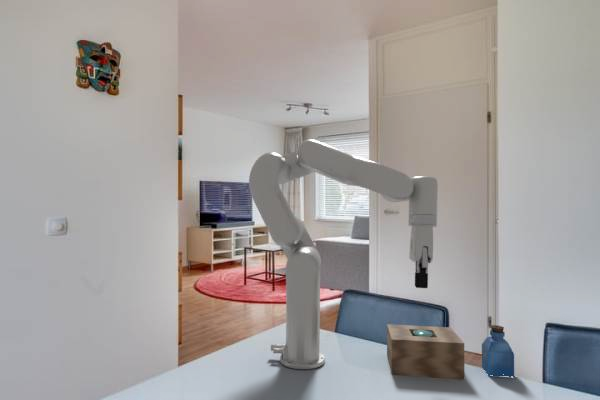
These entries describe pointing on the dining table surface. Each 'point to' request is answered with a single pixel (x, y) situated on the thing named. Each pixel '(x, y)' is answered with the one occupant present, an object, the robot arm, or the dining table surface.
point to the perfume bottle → (497, 354)
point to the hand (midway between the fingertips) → (421, 287)
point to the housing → (425, 352)
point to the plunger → (422, 333)
